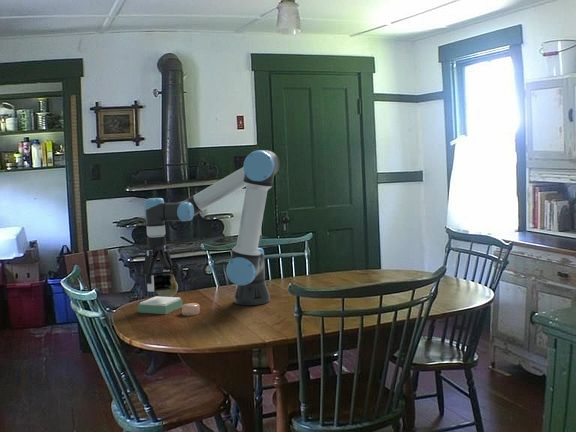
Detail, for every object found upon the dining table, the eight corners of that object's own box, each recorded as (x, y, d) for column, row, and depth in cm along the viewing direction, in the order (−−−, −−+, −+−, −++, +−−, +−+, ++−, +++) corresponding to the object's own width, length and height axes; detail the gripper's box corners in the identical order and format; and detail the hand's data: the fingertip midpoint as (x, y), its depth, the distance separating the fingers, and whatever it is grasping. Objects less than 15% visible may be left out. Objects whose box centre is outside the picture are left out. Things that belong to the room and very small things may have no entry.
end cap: (169, 286, 291) (168, 270, 290) (172, 289, 284) (171, 272, 283) (145, 288, 287) (144, 272, 287) (148, 291, 281) (147, 275, 280)
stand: (182, 306, 290) (182, 297, 290) (165, 314, 278) (165, 304, 278) (156, 305, 295) (155, 295, 295) (138, 312, 283) (137, 302, 283)
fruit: (182, 296, 310) (181, 270, 308) (165, 300, 303) (163, 273, 302) (169, 294, 317) (167, 268, 316) (151, 298, 310) (150, 271, 309)
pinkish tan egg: (202, 312, 280) (202, 303, 280) (194, 316, 273) (193, 307, 273) (187, 311, 283) (187, 302, 282) (178, 315, 276) (178, 306, 276)
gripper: (164, 232, 296) (166, 282, 298) (131, 239, 274) (134, 293, 276) (179, 232, 293) (182, 282, 295) (147, 240, 271) (150, 294, 273)
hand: (159, 288), depth 286 cm, fingers closed on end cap, 11 cm apart
